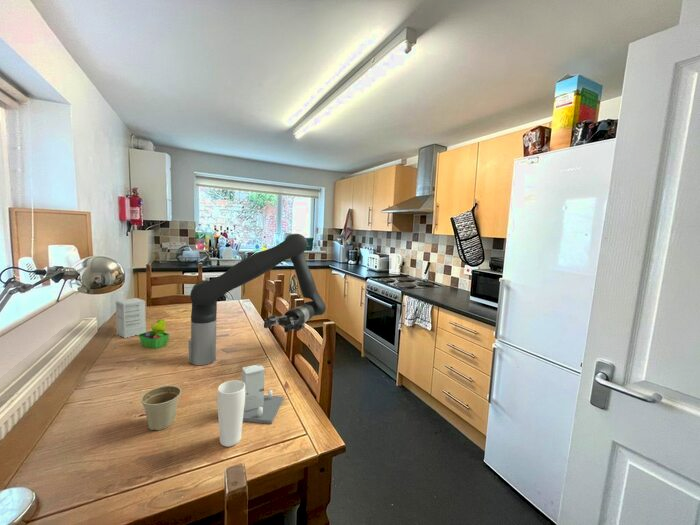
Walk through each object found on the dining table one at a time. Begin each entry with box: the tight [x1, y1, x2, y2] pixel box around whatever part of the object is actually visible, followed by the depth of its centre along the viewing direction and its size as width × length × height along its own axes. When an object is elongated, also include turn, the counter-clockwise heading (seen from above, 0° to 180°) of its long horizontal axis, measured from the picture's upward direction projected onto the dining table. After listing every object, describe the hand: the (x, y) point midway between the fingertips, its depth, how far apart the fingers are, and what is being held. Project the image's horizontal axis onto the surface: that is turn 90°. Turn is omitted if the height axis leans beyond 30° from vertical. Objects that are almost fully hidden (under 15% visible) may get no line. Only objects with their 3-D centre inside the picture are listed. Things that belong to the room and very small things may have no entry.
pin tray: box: [243, 389, 284, 425], centre depth 89 cm, size 16×12×4 cm
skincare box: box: [241, 363, 266, 411], centre depth 88 cm, size 6×4×12 cm
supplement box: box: [115, 297, 147, 339], centre depth 140 cm, size 10×9×17 cm
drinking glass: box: [216, 379, 245, 448], centre depth 74 cm, size 7×7×15 cm
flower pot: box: [140, 385, 182, 431], centre depth 79 cm, size 9×9×9 cm
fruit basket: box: [137, 318, 171, 350], centre depth 130 cm, size 11×9×11 cm
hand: (274, 327), depth 103 cm, fingers open, 8 cm apart
